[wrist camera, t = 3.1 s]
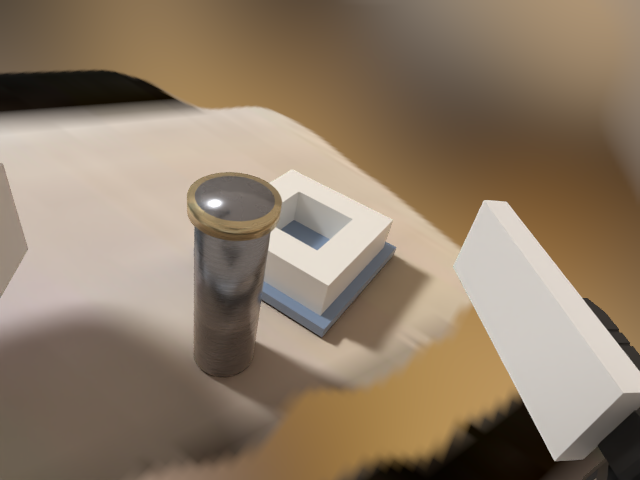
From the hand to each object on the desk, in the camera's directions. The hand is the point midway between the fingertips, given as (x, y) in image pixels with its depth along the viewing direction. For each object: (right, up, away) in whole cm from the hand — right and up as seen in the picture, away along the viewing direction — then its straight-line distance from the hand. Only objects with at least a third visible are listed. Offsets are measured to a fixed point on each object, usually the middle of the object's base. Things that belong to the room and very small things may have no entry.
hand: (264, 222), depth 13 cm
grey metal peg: (-6, -9, +21) cm, 23 cm away
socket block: (0, -2, +31) cm, 31 cm away
